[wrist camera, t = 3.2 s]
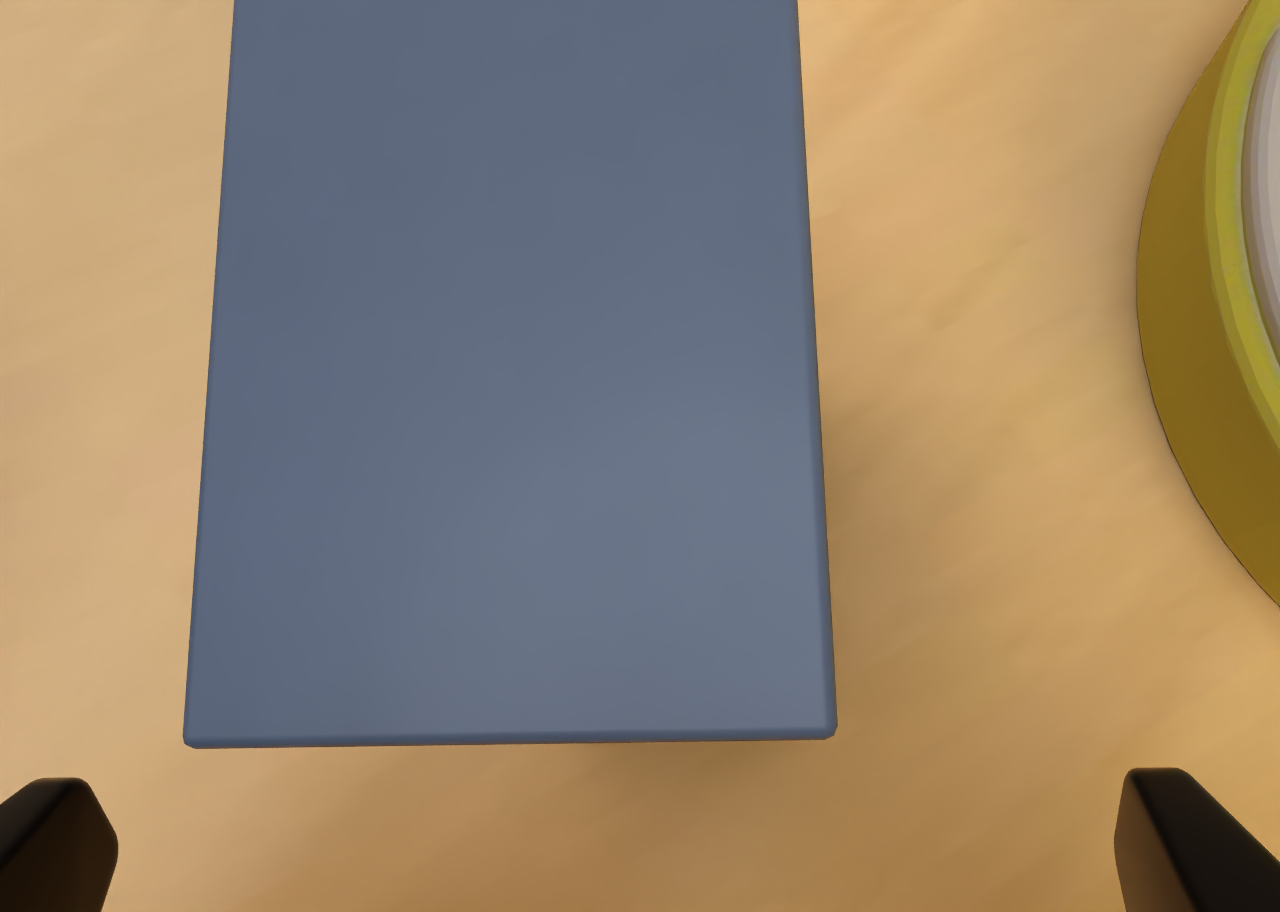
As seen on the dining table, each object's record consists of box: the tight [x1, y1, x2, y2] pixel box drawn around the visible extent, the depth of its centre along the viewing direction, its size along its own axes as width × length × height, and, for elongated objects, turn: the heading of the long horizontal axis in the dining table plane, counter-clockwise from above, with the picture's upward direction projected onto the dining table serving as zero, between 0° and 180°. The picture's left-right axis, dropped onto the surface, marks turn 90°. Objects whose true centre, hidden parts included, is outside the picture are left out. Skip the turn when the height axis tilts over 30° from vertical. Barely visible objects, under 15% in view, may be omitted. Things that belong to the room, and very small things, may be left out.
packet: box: [183, 0, 838, 749], centre depth 14 cm, size 6×4×13 cm
